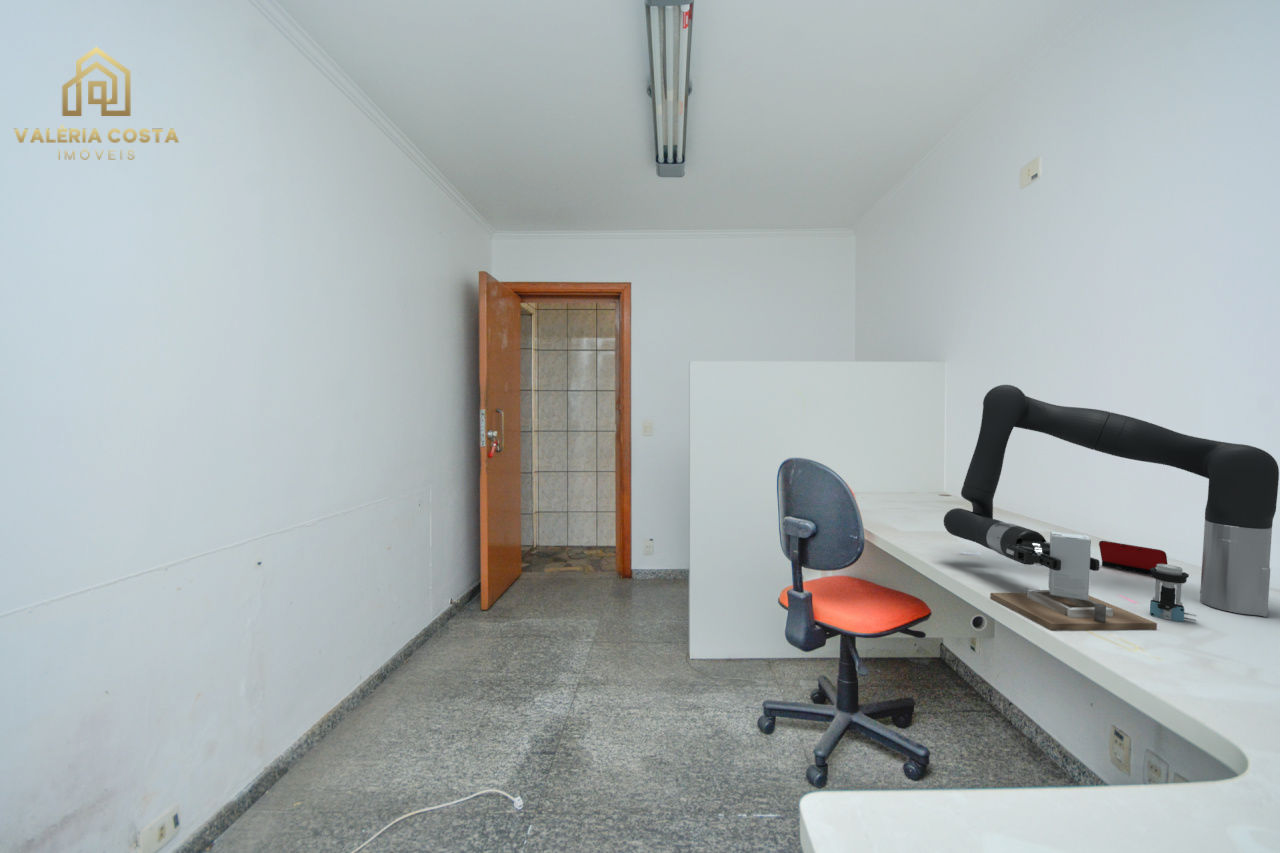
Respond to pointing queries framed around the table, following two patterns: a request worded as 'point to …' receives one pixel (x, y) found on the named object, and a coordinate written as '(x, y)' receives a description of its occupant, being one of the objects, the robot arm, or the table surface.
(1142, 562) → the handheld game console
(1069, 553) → the skincare box
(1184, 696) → the table surface
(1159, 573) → the push button
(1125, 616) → the keyed plate
